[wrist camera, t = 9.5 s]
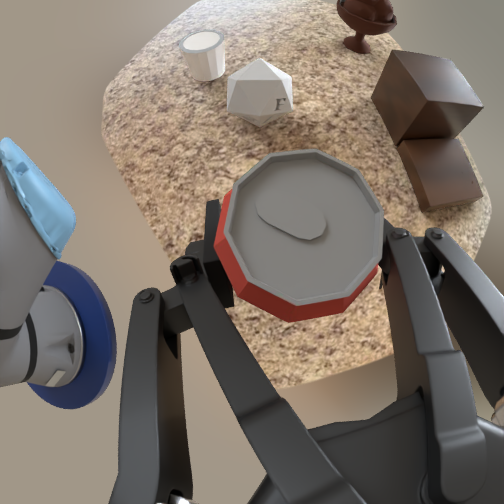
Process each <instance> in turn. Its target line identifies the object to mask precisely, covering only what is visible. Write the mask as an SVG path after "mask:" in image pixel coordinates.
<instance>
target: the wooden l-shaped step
mask: <svg viewBox="0 0 504 504" xmlns="http://www.w3.org/2000/svg"><path fill="white" fill-rule="evenodd" d="M371 99H372V101H373V103H374V104H375V106H376V108H377V110H378V112H379V114H380V116H381V117H382V119H383V121H384V123H385V125H386V127H387V129H388V131H389V133H390V135H391V138H392V140H393V142H394V144H395V146H399V147H398V148H397V150H398V153H399V155H400V157H401V159H402V162H403V164H404V166H405V169H406V171H407V174H408V176H409V179H410V181H411V184H412V186H413V189H414V192H415V194H416V197H417V200H418V203H419V206H420V209H421V212H422V213H423V212H428V211H432V210H437V209H442V208H447V207H452V206H457V205H462V204H467V203H472V202H475V201H477V200H479V199H480V198H482V197H483V194H482V192H481V189H480V186H479V184H478V181H477V179H476V176H475V174H474V171H473V169H472V167H471V165H470V162H469V160H468V158H467V156H466V154H465V151H464V149H463V147H462V145H461V143H460V141H459V139H454V138H455V137H456V136H457V135H458V134H459V133H460V132H461V131H462V130H463V129H464V128H465V127H466V126H467V125H468V124H469V123H470V122H471V120H472V119H473V118H474V117H475V116H476V115H477V114H478V113H479V112H480V111H481V110H482V108H484V106H483V105H482V103H481V102H480V100H479V99H478V97H477V96H476V94H475V92H474V91H473V89H472V88H471V87H470V85H469V84H468V82H467V81H466V79H465V78H464V77H463V75H462V74H461V72H460V71H459V70H458V68H457V67H456V66H455V65H454V63H453V62H452V61H451V60H449V59H445V58H440V57H436V56H431V55H425V54H419V53H413V52H407V51H399V50H392V51H391V53H390V55H389V58H388V60H387V62H386V65H385V67H384V69H383V71H382V74H381V76H380V78H379V80H378V83H377V85H376V87H375V89H374V91H373V94H372V96H371Z"/></svg>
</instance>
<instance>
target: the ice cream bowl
mask: <svg viewBox="0 0 504 504" xmlns="http://www.w3.org/2000/svg"><path fill="white" fill-rule="evenodd" d="M337 11H338V14H339V16H340V17H341V18H342V20H343V21H344V22H345V23H346V24H347V25H348V26H349V27H350V28H352V29H353V30H355V31H356V34H355V37H354V36H350V37H346V38H345V39H344V42H343V44H344V45H345V46H346V47H347V48H348V49H350V50H352V51H354V52H357V53H362V54H365V53H368V52H370V45H369V44H368V43H367V42H366V41H365V40H363V39H364V36H365V35H378V34H383V33H387V32H389V31H391V30H392V29H393V28H394V27H395V26H396V25H397V21H396V16H395V15H393V7H392V5H391V2H390V1H389V0H338V1H337Z"/></svg>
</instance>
